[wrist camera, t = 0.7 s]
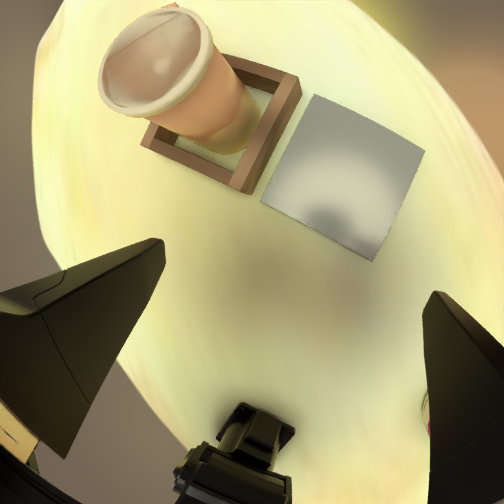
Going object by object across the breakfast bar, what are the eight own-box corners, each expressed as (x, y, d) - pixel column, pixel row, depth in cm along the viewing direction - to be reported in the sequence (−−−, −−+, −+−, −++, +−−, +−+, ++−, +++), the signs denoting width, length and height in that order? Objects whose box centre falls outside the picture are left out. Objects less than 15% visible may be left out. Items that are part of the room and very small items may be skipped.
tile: (370, 259, 23) (372, 261, 22) (262, 201, 25) (259, 201, 24) (421, 153, 21) (425, 150, 20) (314, 98, 22) (314, 93, 22)
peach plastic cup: (268, 152, 24) (210, 92, 11) (194, 163, 26) (94, 129, 13) (258, 62, 23) (205, -30, 11) (190, 77, 25) (108, 9, 12)
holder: (251, 194, 25) (239, 191, 21) (160, 152, 26) (139, 144, 23) (302, 94, 23) (298, 76, 19) (207, 62, 24) (192, 46, 21)
